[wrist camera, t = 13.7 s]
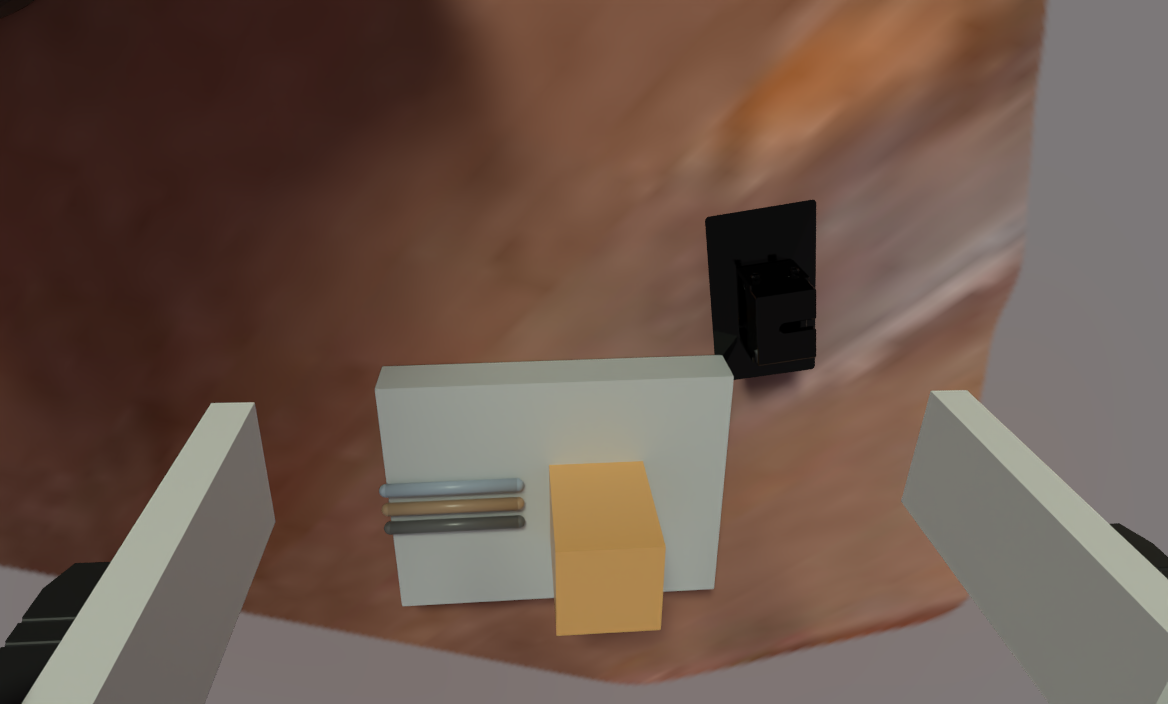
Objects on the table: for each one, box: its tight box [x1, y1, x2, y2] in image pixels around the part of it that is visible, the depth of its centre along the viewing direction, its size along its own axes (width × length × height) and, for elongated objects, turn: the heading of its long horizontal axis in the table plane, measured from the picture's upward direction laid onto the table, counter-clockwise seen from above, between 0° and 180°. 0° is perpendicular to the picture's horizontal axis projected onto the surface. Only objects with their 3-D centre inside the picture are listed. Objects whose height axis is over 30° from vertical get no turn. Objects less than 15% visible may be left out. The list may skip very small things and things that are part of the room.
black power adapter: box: [705, 200, 816, 380], centre depth 40 cm, size 12×7×5 cm, turn 7°
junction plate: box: [375, 355, 734, 606], centre depth 41 cm, size 18×14×8 cm
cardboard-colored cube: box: [549, 461, 666, 636], centre depth 40 cm, size 5×5×7 cm
